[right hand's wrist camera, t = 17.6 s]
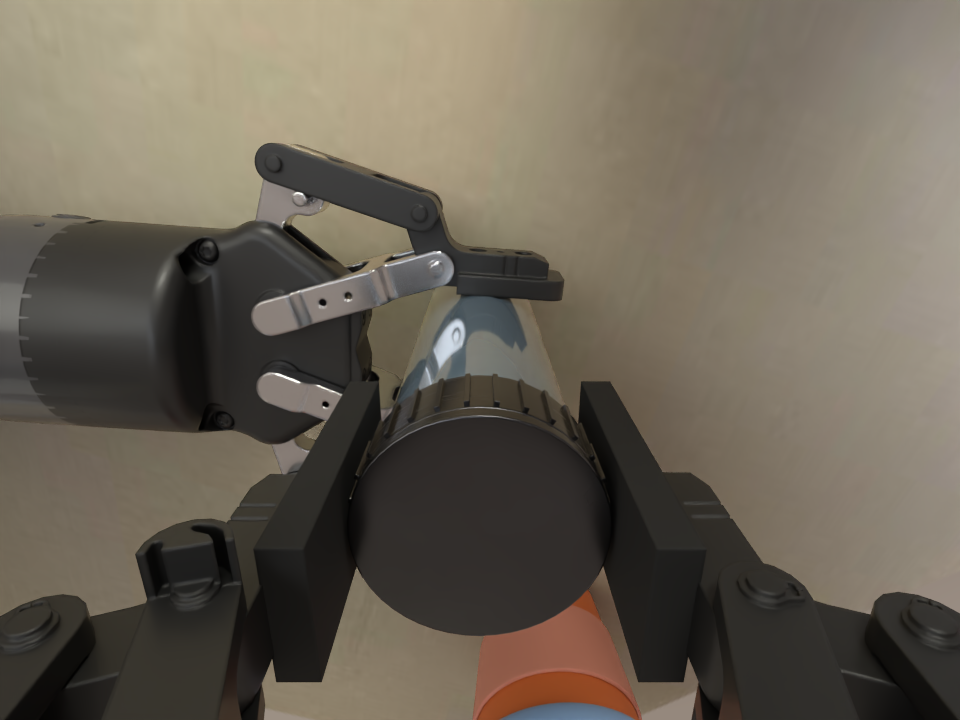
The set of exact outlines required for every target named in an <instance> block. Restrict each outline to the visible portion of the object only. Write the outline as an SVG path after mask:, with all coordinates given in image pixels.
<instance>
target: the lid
mask: <svg viewBox="0 0 960 720" xmlns="http://www.w3.org/2000/svg"><path fill="white" fill-rule="evenodd" d="M354 479H356V481H355V483H354V486H353V489H352V491H351V494H350V496H349V500H348V503H350V504H349V509H348V517H347V535H348V540H349V546H350V550H351V553H352V556H353V559H354V561H355V564H356V566H357V568H358V570H359V572H360V574H361V575H362V577H363V578H364V580H365V581H366V583H367V584H368V585H369V587H370V588H371V589H372V590H373V591H374V592H375V593H376V595H377V596H378V597H379V598H380V599H381V600H383V601H384V602H385V603H386V604H387V605H389V606H390V607H391V608H392V609H394V610H395V611H397V612H398V613H400V614H402V615H403V616H405V617H406V618H408V619H411V620H413V621H415V622H417V623H419V624H421V625H424V626H427V627H429V628H432V629H435V630H439V631H443V632H447V633H453V634H460V635H471V636H488V635H500V634H506V633H512V632H516V631H520V630H524V629H527V628H530V627H533V626H535V625H538V624H541V623H543V622H545V621H547V620H549V619H551V618H553V617H555V616H557V615H558V614H560V613H561V612H563V611H564V610H566V609H567V608H569V607H570V606H571V605H572V604H573V603H574V602H576V601H577V600H578V599H579V598H580V597H581V596H582V595H583V594H584V593H585V592H586V591H587V590H588V588H589V587H590V586H591V585H592V583H593V582H594V580H595V579H596V578H597V576H598V575H599V573H600V571H601V569H602V567H603V565H604V563H605V560H606V557H607V554H608V551H609V548H610V543H611V537H612V513H611V500H610V497H609V495H608V492H607V490H606V487H605V484H604V483H605V482H607V480H606V478H605V475H604V472H603V470H602V467H601V465H600V462H599V460H598V457H597V455H596V452H595V450H594V447H593V444H592V443H591V444H590V442H589V439H588V437H587V434H586V431H585V429H584V426H583V425H582V423H579V424H577V422H576V421H575V419H574V418H573V417H572V415H571V414H570V411H569V409H568V407H567V406H566V405H565V404H564V405H563V406H562V405H561V404H559V403H558V402H557V401H556V400H555V399H553V398H552V397H550V396H549V394H548V391H546V390H543V391H541V390H539V389H537V388H535V387H532V386H530V385H528V384H526V383H525V382H524V380H522V379H519V381H516V380H513V379H509V378H503V377H498V374H493V375H492V376H486V375H473V376H471V374H470V373H467V374H465V376H461V377H456V378H451V379H446V380H444V378H441V379H439V381H438V382H437V383H434V384H431V385H429V386H427V387H425V388H423V389H421V390H420V389H419V388H417V389H415V390H414V393H413V394H412V395H411V396H409V397H408V398H406V399H405V400H404V401H402V402H401V403H400V404H399V403H398V402H397V403H395V404H394V406H393V409H392V412H391V413H390V414H389V415H388V416H387V417H386V418H385V420H384V421H381V420H380V421H379V422H378V424H377V427H376V429H375V432H374V435H373V437H372V440H371V441H368V443H367V446H366V448H365V451H364V453H363V456H362V458H361V461H360V463H359V466H358V469H357V471H356V474H355V476H354Z"/></svg>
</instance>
